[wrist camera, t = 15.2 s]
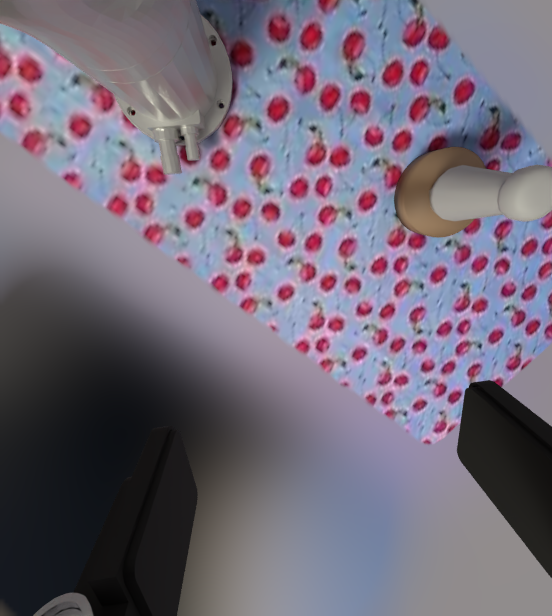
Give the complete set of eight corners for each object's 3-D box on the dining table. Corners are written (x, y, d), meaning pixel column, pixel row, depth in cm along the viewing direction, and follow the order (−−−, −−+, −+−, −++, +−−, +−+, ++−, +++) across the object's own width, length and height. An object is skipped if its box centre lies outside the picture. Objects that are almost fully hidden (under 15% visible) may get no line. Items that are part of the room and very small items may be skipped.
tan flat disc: (465, 230, 40) (481, 233, 38) (392, 237, 40) (402, 240, 37) (476, 147, 37) (495, 143, 34) (396, 154, 37) (408, 150, 34)
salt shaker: (454, 155, 34) (565, 133, 22) (477, 195, 36) (592, 196, 24) (412, 192, 35) (495, 190, 23) (436, 229, 37) (525, 246, 25)
